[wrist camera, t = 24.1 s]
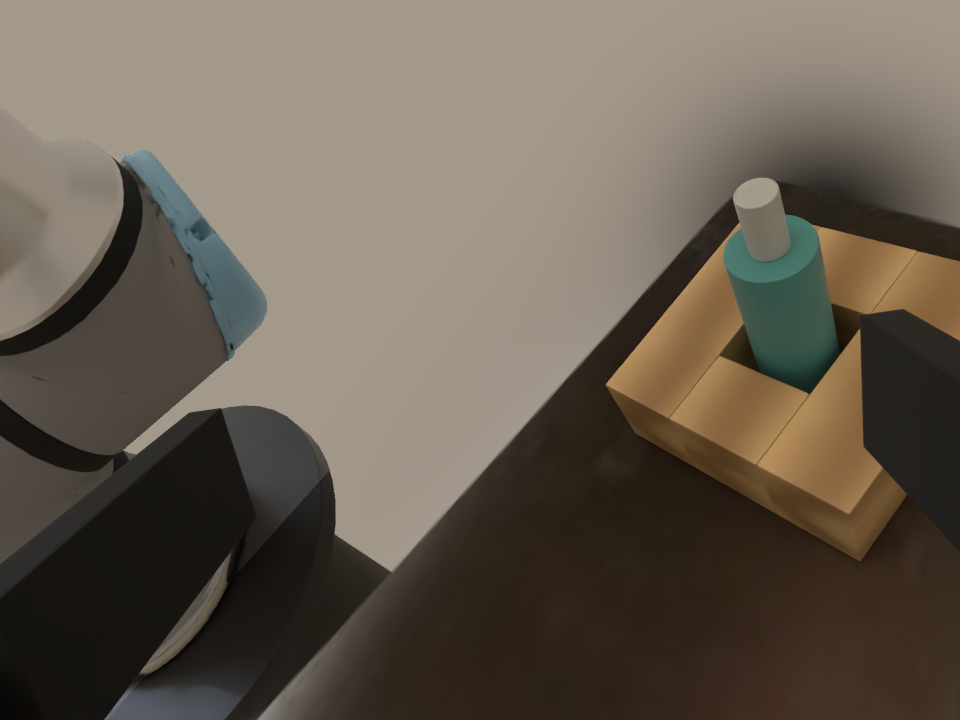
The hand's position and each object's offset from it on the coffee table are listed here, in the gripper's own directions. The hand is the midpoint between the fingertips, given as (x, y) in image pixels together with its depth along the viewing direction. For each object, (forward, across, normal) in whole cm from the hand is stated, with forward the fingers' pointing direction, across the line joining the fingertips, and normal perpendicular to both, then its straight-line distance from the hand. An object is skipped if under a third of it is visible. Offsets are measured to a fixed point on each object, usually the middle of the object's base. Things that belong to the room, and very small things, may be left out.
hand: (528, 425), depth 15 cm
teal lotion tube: (+22, +12, -10) cm, 26 cm away
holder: (+22, +12, -10) cm, 26 cm away
